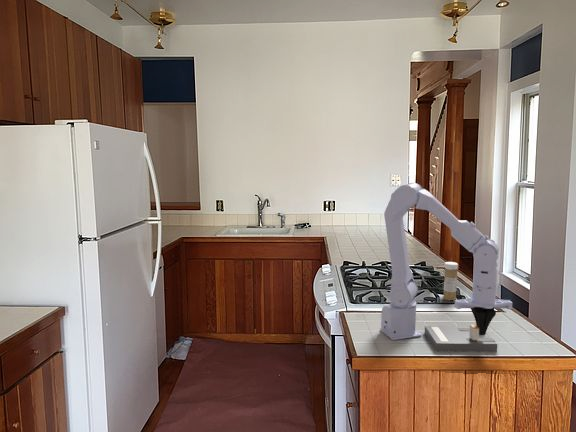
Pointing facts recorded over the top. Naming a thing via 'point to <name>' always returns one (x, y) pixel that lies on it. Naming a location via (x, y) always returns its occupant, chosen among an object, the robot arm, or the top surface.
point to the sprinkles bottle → (450, 280)
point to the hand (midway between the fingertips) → (481, 333)
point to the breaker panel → (458, 339)
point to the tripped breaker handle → (474, 332)
